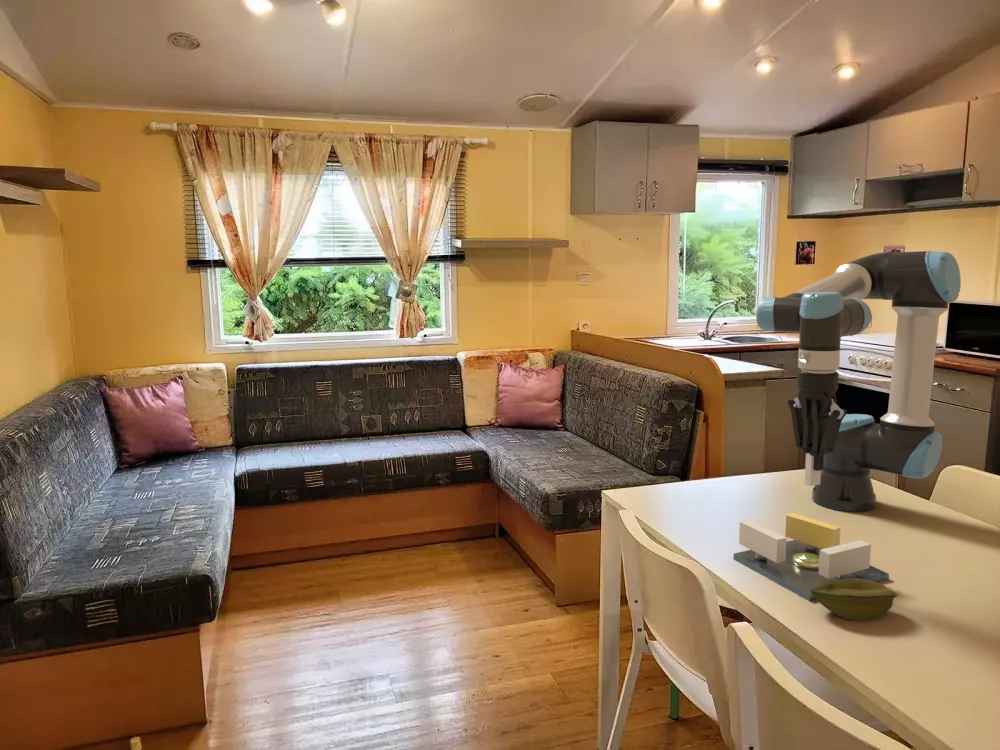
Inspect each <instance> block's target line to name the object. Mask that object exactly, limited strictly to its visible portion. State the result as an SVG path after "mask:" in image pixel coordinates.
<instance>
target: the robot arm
mask: <svg viewBox="0 0 1000 750" xmlns="http://www.w3.org/2000/svg"><path fill="white" fill-rule="evenodd" d="M960 271H961V270H960V267H959V263H958V261H957V259H956V258H955V256H954V255H953V254H952V253H950V252H949V251H948V252H947V251H936V250H935V251H932V250H926V251H922V250H921V251H895V252H891V251H888V252H887V251H885V252H877V253H873V254H869V255H866V256H863V257H859V258H856V259H855V260H854V259H853V260H852V261H849V262H847V263H845V264H843V265H840V266H839V267H838V268H836V270H835V271H834V273H833V274H830V275H829V276H827V277H825V278H824V277H823V278H822V279H819V280H818V281H816V282H813V283H811V284H810V285H807V286H805V287H803V288H801V289H798V290H796V291H794V292H792V293H790V294H788V295H785V296H783V297H777V296H773V297H771V296H770V297H764V298H762V299H761V300H760V301H759V303H758V304H757V307H756V310H755V316H756V317H755V320H756V324H757V326H758V327H759V328H760V330H763V331H768V332H773V333H788V334H789V333H791V334H793V333H794V334H799V339H798V341H799V342H798V343H799V344H798V359H797V368H799V370H798V372H797V374H796V375H797V377H796V388H797V389H799V391H798V393H797V397H794V399H789V400H787V404H788V407H789V409H790V413H791V421H792V426H793V427H792V428H793V434H794V443H795V446H796V448H800V449H801V450H802V452H803V460H802V461H803V464H802V465H803V467H804V485H806V486H807V487H808V486H809V487H812V486H813V487H812V493H811V499H812V501H813V502H814V503H815V504H818V505H819V506H821V507H822V506H823V507H825V508H827V509H833V510H836V511H837V510H838V511H844V512H865V511H866V512H867V511H870V510H873V509H875V507H876V506H877V495H876V493H875V490H874V487H873V482H872V478H871V470H873V471H879V472H883V473H889V474H894V475H899V476H902V477H904V478H907V477H908V478H913V479H925V478H927V477H928V476H930V475H931V474H932V473H933V471H935V469H936V467H937V465H938V463H939V460H940V457H941V455H942V450H943V446H944V444H943V443H944V441H943V436H942V434H941V433H939V432H938V431H935V427H936V423H935V422H934V421H933V420H932V419H931V417H930V416H929V415H930V413H929V412H930V404H931V396H932V395H931V394H932V386H933V379H934V378H933V377H934V370H935V369H934V368H935V367H934V366H935V357H936V352H937V351H936V349H937V340H938V332H939V323H940V317H941V315H943V314H944V313H946V312H947V311H948V310H949V303H953V302H955V301H957V299H958V298H959V295H960V292H961V287H962V286H961V285H962V284H961V280H962V279H961V272H960ZM863 300H882V301H883V300H884V301H891V308H892V310H893V311H894V312H895V313H896V315H897V319H896V320H897V321H896V329H895V330H896V332H895V340H894V351H893V360H892V370H891V379H890V387H889V397H888V407H887V413H885V414H884V415H882V416H881V417H880V418H879V419H880V420H879V423H875V419H874V416H872V415H869V414H863V413H861V414H860V413H852V414H851V413H850V414H849V413H848V412H847V409H845V408H841V407H839V405H838V404H837V403H838V402H837V398H836V392H837V391H838V390H839V376H840V374H839V373H838V370H839V369H840V360H841V359H840V356H841V339H842V337H844V338H845V337H848V336H849V337H853V336H855V335H857V334H859V333H862V332H864V331H865V330H867V328H868V327H869V326H870V323H871V321H872V318H873V317H872V310H871V309H870V306H869V305H868V304H867V303H866V302H864V301H863Z"/></svg>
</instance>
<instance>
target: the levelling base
mask: <svg viewBox="0 0 1000 750" xmlns="http://www.w3.org/2000/svg"><path fill="white" fill-rule="evenodd" d="M805 545H806V543H803V542H800V541H797V540H794V539H792V540H788V541H787V540H786V559H785V561H783V562H778V563H775V562H774V561H772V560H770V559H768V558H767V559H765V560H761V559H757V558H756V557H755V553H756V552H754V551H752V550H750V549H748V550H744V551H740V552H735V553H733V560H735V561H736V562H738V563H740V564H741V565H743V566H745V567H747V568H749V569H751V570H753V571H755V572H756V573H758V574H759V575H762V576H763V577H765V578H767V579H768V580H771V581H772V582H774V583H776V584H778V585H779V586H782V587H783V588H785V589H787V590H789V591H791V592H792V593H794V594H796V595H798V596H800V597H802V598H803V599H805V600H807V601H808V602H811V601H814V600H816V599H815V598H814V596H813V594H812V593H811V590H812V589H814V588H816V587H818V586H820V585H822V584H824V583H826V582H829V581H832V580H838V579H841V578H839V577H838V576H837V577H833V578H829V579H828V578H826V577H824V576H822V575H820V574H818V572H819V553H820V550H821V548H818V547H817V550H808V549H806V548H805ZM851 578H860V579H867V580H871V581H875V582H878V583H881V582H884V581H888V580H889V579H890V574H889V573H888V572H886V571H884V570H881V569H879V568H877V567H875V566H872V565H871V564H870V568H868V569H864V570H860V571H856V572H852V573H851Z"/></svg>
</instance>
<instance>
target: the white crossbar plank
mask: <svg viewBox="0 0 1000 750" xmlns="http://www.w3.org/2000/svg"><path fill="white" fill-rule="evenodd" d="M738 532H739V538H738V544H739V545H741V546H743V547H745V548H747V549H748V550H752V551H754V552H756V553H755V557H756V558H757V559H761V560H765V559H767V558H768V559H770V560H772V561H774V562H775V563H778V562H783V561H785V559H786V542H787V537H785V536H783V535H781V534H779V533H777V532H775V531H773V530H771V529H769V528H767V527H764V526H762V525H760V524H758V523H756V522H754V521H752V520H749V519H747V520H743V521H739V531H738Z"/></svg>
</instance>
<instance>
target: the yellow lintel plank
mask: <svg viewBox="0 0 1000 750" xmlns="http://www.w3.org/2000/svg"><path fill="white" fill-rule="evenodd" d="M785 517H786V518H785V519H786V520H785V536H784V537H786V538H789V539H792V540H797V541H800V542H803V543H806V545H805V548H806V549H808V550H817V547H818V548H821V549H825V548H829V547H834V546H838V545H840V541H841V539H840V538H841V526H837V525H834V524H833V523H832V524H831V523H828V522H825V521H821V520H818V519H816V518H815V519H814V518H812V517H811V518H810V517H807V516H804V515H801V514H798V513H795V512H790V513H789V514H786V516H785Z"/></svg>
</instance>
